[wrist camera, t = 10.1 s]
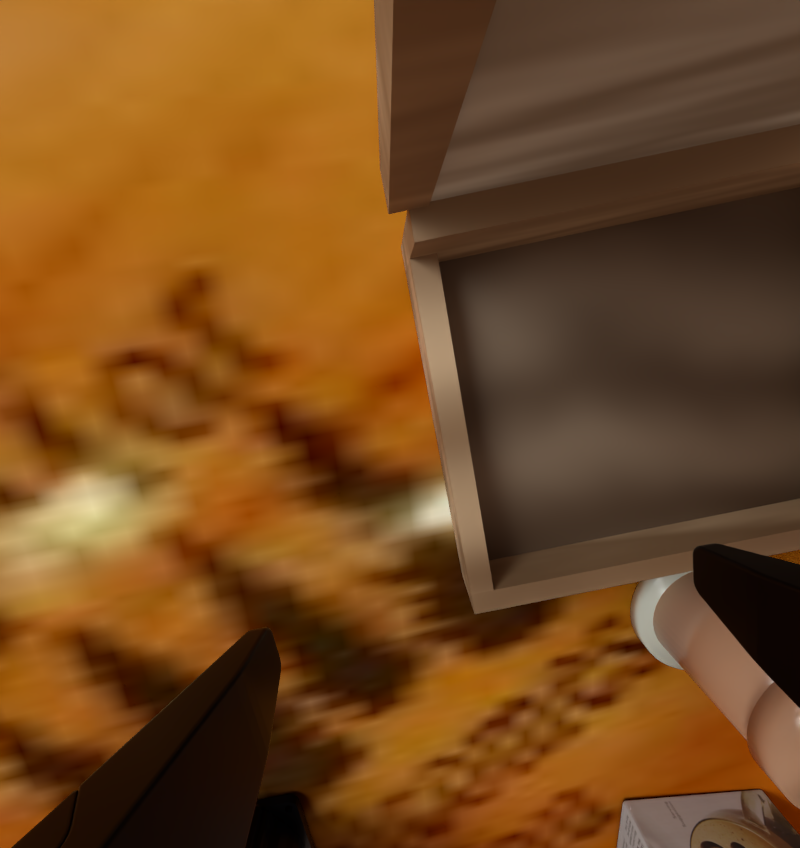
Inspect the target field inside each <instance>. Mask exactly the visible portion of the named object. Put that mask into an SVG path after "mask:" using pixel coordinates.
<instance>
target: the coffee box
mask: <svg viewBox="0 0 800 848" xmlns="http://www.w3.org/2000/svg"><path fill="white" fill-rule="evenodd" d="M617 848H800V835H799V834H798V833H797V831H796V830H795V829H794V828H793V827H792V826H791V825H790V823H789V822H788V821H787V820H786V819H785V817H784V816H783V815H782V814H781V813H780V811H779V810H778V809H777V808H776V807H775V805H774V804H773V803H772V802H771V800H770V799H769V798H768V796H767V795H766V794H765V793H764V792H763V791H762V790H759V789H758V790H748V791H736V792H724V793H712V794H700V795H687V796H675V797H662V798H651V799H640V800H627V801H624V802H623V805H622V812H621V820H620V828H619V835H618V842H617Z"/></svg>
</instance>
